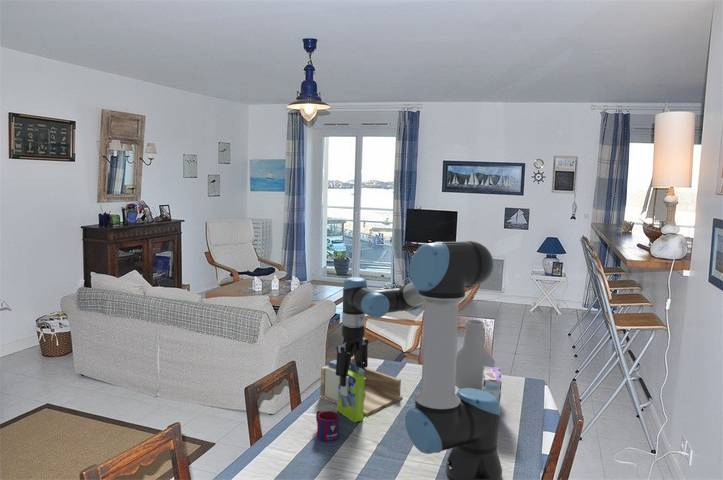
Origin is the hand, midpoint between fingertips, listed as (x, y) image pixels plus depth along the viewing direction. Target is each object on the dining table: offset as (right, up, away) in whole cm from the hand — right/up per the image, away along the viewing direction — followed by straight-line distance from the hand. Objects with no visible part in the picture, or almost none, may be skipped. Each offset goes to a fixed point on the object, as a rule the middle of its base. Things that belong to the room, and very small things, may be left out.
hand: (351, 391), depth 185 cm
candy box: (+46, -10, +2) cm, 48 cm away
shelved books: (-5, -6, +14) cm, 16 cm away
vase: (+44, -7, +23) cm, 50 cm away
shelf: (+3, -7, +16) cm, 18 cm away
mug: (-8, -10, -12) cm, 18 cm away
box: (0, -9, +1) cm, 9 cm away
